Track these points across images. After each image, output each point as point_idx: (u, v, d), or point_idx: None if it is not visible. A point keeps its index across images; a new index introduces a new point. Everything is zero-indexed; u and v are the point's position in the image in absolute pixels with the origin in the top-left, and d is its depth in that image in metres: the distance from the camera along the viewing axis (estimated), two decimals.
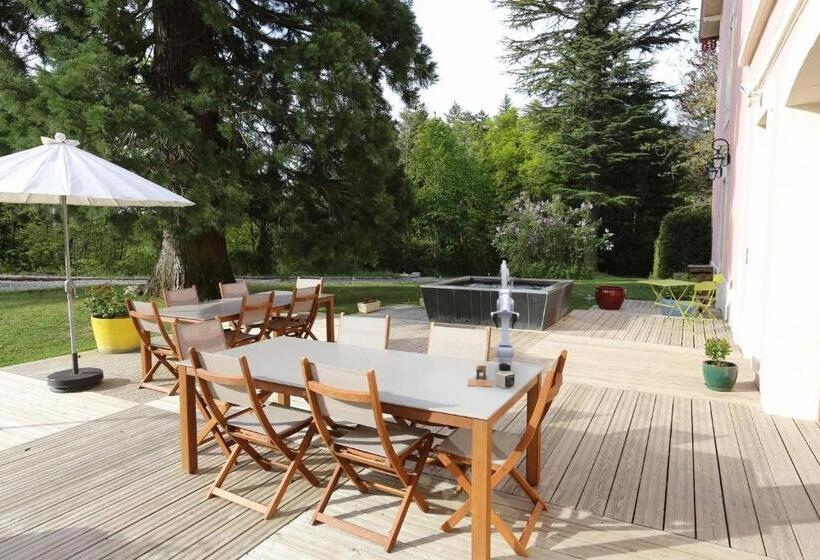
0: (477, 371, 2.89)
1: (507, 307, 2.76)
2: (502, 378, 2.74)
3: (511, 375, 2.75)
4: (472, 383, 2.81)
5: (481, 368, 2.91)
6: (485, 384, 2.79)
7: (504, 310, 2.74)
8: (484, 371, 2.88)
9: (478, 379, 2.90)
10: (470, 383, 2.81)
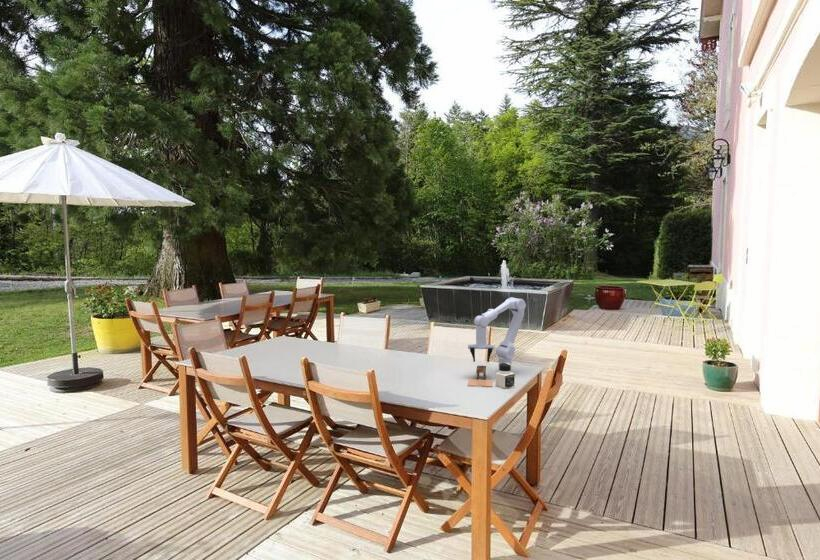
0: (477, 371, 2.89)
1: (483, 342, 2.89)
2: (502, 378, 2.74)
3: (511, 375, 2.75)
4: (472, 383, 2.81)
5: (481, 368, 2.91)
6: (485, 384, 2.79)
7: (480, 347, 2.88)
8: (484, 371, 2.88)
9: (478, 379, 2.90)
10: (470, 383, 2.81)
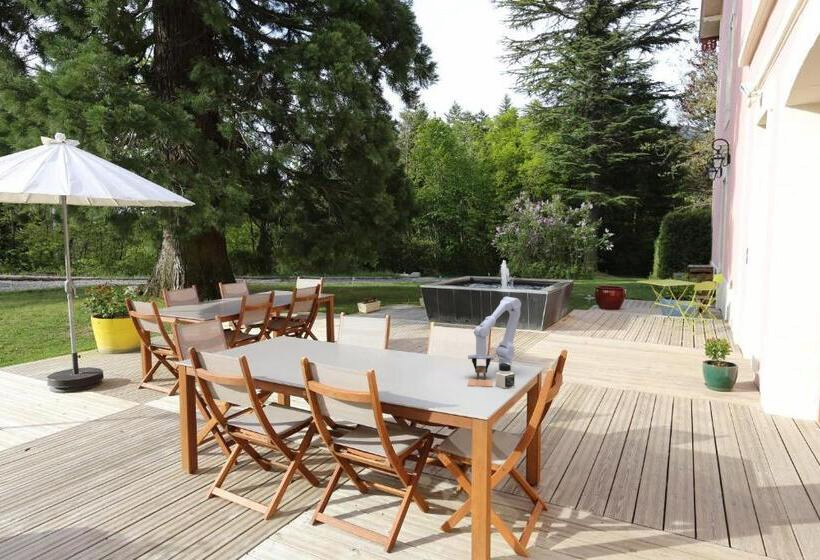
0: (477, 371, 2.89)
1: (483, 352, 2.89)
2: (502, 378, 2.74)
3: (511, 375, 2.75)
4: (472, 383, 2.81)
5: (481, 368, 2.91)
6: (485, 384, 2.79)
7: None
8: (484, 371, 2.88)
9: (478, 379, 2.90)
10: (470, 383, 2.81)
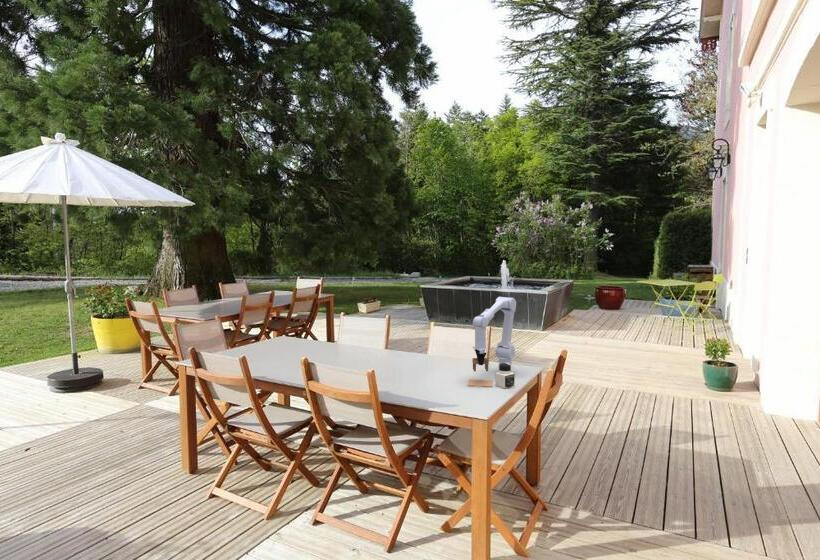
0: (472, 360, 2.85)
1: (475, 343, 2.81)
2: (502, 378, 2.74)
3: (511, 375, 2.75)
4: (472, 383, 2.81)
5: (476, 359, 2.82)
6: (485, 384, 2.79)
7: None
8: (473, 362, 2.81)
9: None
10: (470, 383, 2.81)
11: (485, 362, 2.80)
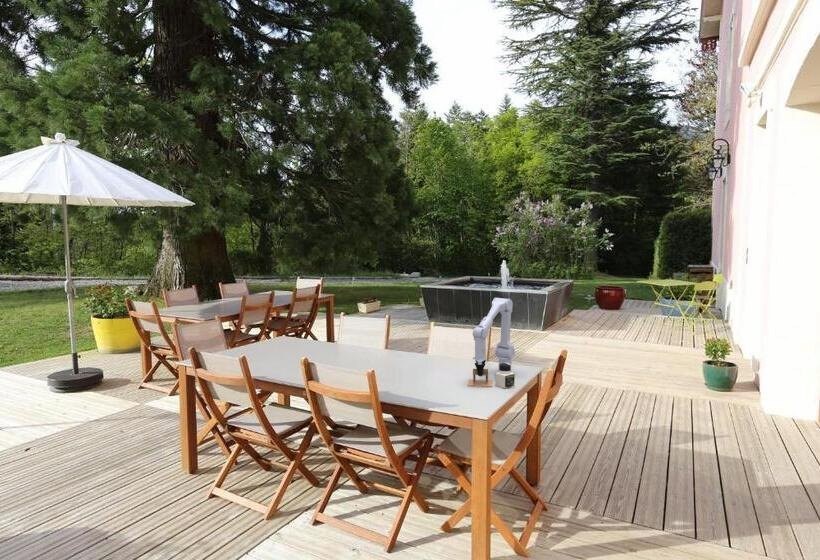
0: None
1: (475, 354, 2.80)
2: (502, 378, 2.74)
3: (511, 375, 2.75)
4: (472, 383, 2.81)
5: (476, 370, 2.82)
6: (485, 384, 2.79)
7: None
8: None
9: None
10: (470, 383, 2.81)
11: (484, 373, 2.79)
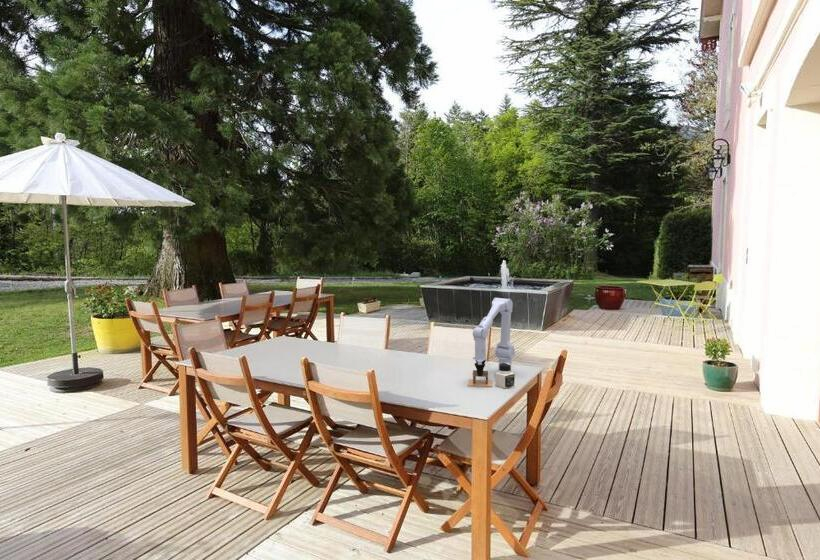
0: None
1: (475, 354, 2.80)
2: (502, 378, 2.74)
3: (511, 375, 2.75)
4: (472, 383, 2.81)
5: (476, 371, 2.82)
6: (485, 384, 2.79)
7: None
8: None
9: None
10: (470, 383, 2.81)
11: (484, 375, 2.79)
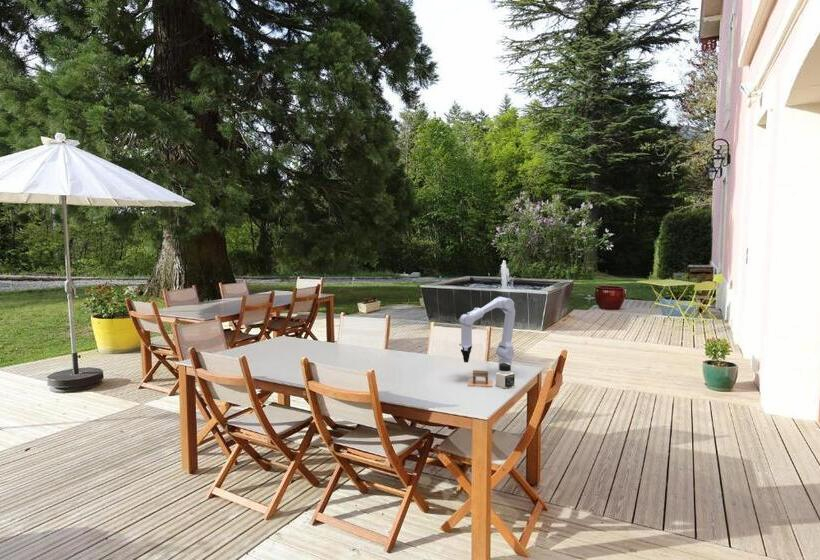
0: None
1: (461, 340, 2.89)
2: (502, 378, 2.74)
3: (511, 375, 2.75)
4: (472, 383, 2.81)
5: (476, 371, 2.82)
6: (485, 384, 2.79)
7: None
8: None
9: None
10: (470, 383, 2.81)
11: (484, 375, 2.79)
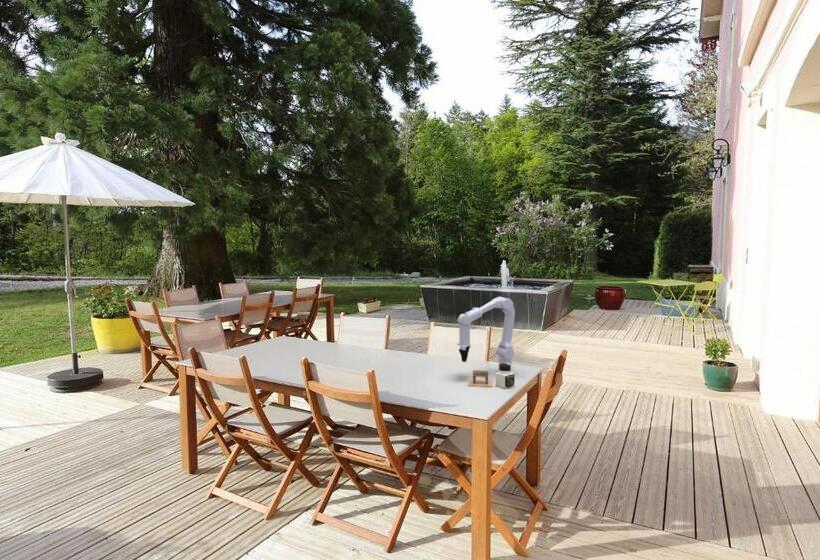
0: None
1: (459, 340, 2.90)
2: (502, 378, 2.74)
3: (511, 375, 2.75)
4: (472, 383, 2.81)
5: (476, 371, 2.82)
6: (485, 384, 2.79)
7: None
8: None
9: None
10: (470, 383, 2.81)
11: (484, 375, 2.79)
